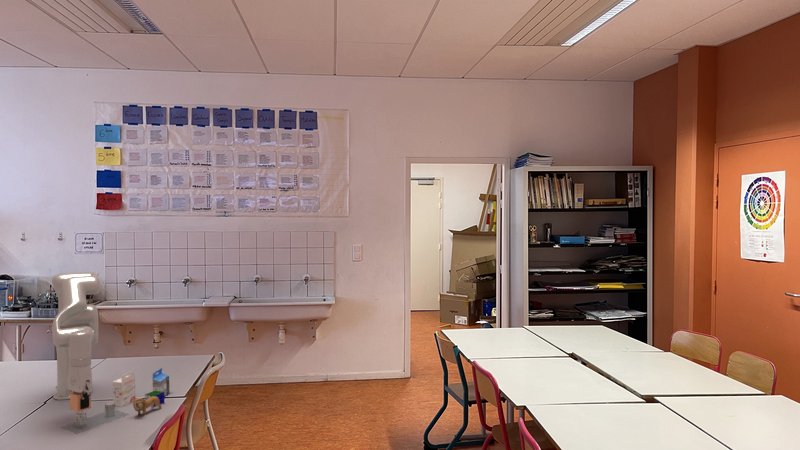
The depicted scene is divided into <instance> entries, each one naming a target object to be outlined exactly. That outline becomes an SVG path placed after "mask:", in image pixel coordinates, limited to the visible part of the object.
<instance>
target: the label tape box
mask: <svg viewBox="0 0 800 450" xmlns="http://www.w3.org/2000/svg"><path fill="white" fill-rule="evenodd" d="M162 371H163V367H160V368H159V369H158V370H156V371H154V372H153V373H152V392H153V391H155V390H156V391H161V392H164V397H165V396H167V395H168V394H170V392H171V391H170V375H168V374H166V373H164V372H162Z"/></svg>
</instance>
